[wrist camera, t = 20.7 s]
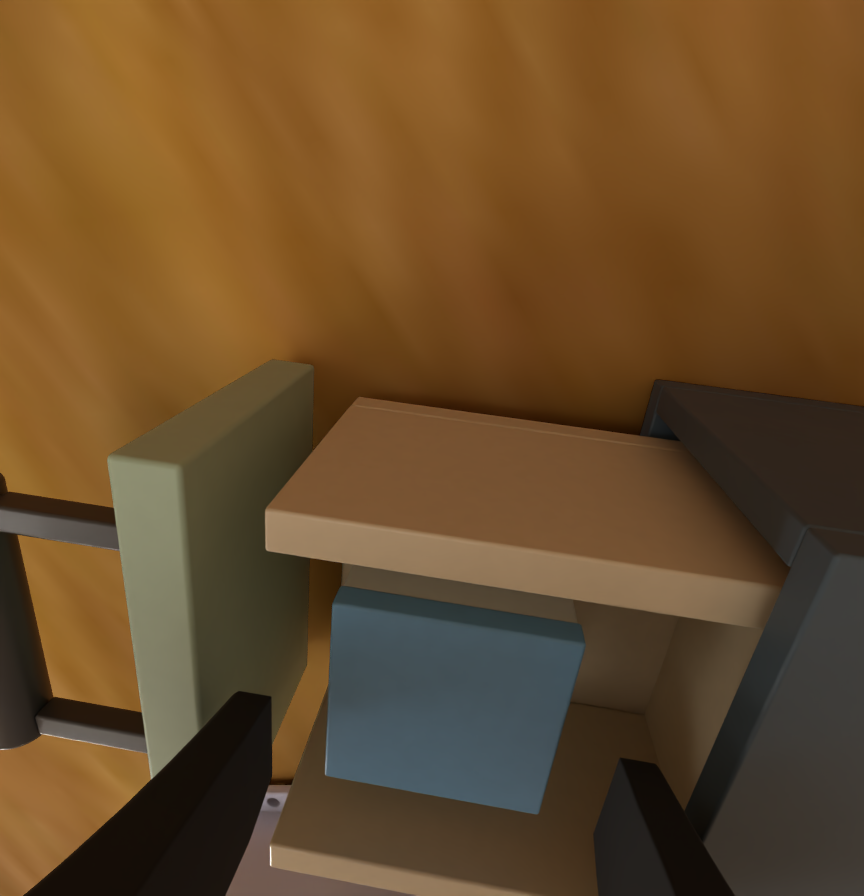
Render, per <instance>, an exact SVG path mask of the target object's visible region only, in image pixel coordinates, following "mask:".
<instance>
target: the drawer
mask: <svg viewBox="0 0 864 896" xmlns="http://www.w3.org/2000/svg"><path fill="white" fill-rule="evenodd" d="M313 397H314V367H313V366H312V365H310V364H302V363H295V362H288V361H280V360H270V361H268V362H266V363H265V364H263V365H261V366H259V367H258V368H256V369H254V370H253V371H251V372H249V373H248V374H246V375H244V376H242V377H241V378H239V379H237V380H236V381H234V382H232V383H230V384H229V385H227V386H225V387H224V388H222V389H220V390H219V391H217V392H215V393H213V394H212V395H210V396H208V397H207V398H205V399H203V400H202V401H200V402H198V403H196V404H195V405H193V406H191V407H190V408H188V409H186V410H184V411H183V412H181V413H179V414H178V415H176V416H174V417H173V418H171V419H169V420H167V421H166V422H164V423H162V424H161V425H159V426H157V427H155V428H154V429H152V430H150V431H149V432H147V433H145V434H144V435H142V436H140V437H138V438H137V439H135V440H133V441H132V442H130V443H128V444H126V445H125V446H123V447H121V448H120V449H118V450H116V451H115V452H113V453H111V454H110V455H109V456H108V460H107V461H108V469H109V476H110V483H111V490H112V498H113V505H114V508H111V507H105V506H98V505H92V504H85V503H79V502H73V501H66V500H60V499H53V498H47V497H41V496H34V495H28V494H21V493H15V492H8V490H7V486H6V481H5V478H4V476H3V475H2V474H1V473H0V750H7V749H13V748H17V747H20V746H23V745H26V744H28V743H30V742H32V741H33V740H35V739H37V738H38V737H39V736H41V735H42V734H45V735H50V736H55V737H61V738H66V739H72V740H77V741H83V742H88V743H93V744H99V745H104V746H110V747H115V748H121V749H126V750H131V751H137V752H142V753H148V760H149V767H150V774H151V779H152V778H153V777H154V776H155V775H156V774H157V773H158V772H159V771H160V770H162V769H163V768H164V767H165V766H166V765H167V764H168V763H169V762H170V761H171V760H172V759H173V758H174V757H175V756H176V754H177V753H178V752H179V751H180V750H181V749H182V748H183V747H184V746H185V745H186V744H187V743H188V742H189V741H190V740H191V739H192V738H193V737H194V736H195V735H196V734H197V733H198V732H199V731H200V730H201V729H202V727H203V726H204V725H205V724H206V723H207V722H208V721H209V720H210V719H211V718H212V717H213V716H214V715H215V714H216V712H217V711H218V710H219V709H220V708H221V707H222V706H223V705H224V704H225V703H226V702H227V700H228V699H229V698H230V697H231V696H232V695H233V694H234V693H236V692H238V691H243V692H249V693H254V694H260V695H266V696H272V744H273V742H274V739H275V737H276V735H277V732H278V730H279V728H280V725H281V723H282V721H283V719H284V716H285V714H286V712H287V709H288V707H289V705H290V702H291V700H292V698H293V696H294V693H295V691H296V689H297V686H298V684H299V682H300V679H301V677H302V675H303V673H304V670H305V668H306V666H307V650H308V608H309V566H310V558H314V559H320V560H327V561H333V562H339V563H342V578H341V586H344V584H345V582H346V579H347V577H348V575H349V572H350V570H351V568H352V565H358V566H365V567H371V568H377V569H384V570H390V571H396V572H403V573H409V574H415V575H422V576H428V577H434V578H441V579H447V580H453V581H460V582H466V583H472V584H478V585H485V586H491V587H497V588H504V589H510V590H516V591H523V592H529V593H535V594H542V595H548V596H554V597H561V598H567V599H573V602H574V607H575V612H576V617H577V622H578V623H579V624H581V625H582V629H583V634H584V638H585V643H586V648H585V651H584V655H583V658H582V662H581V666H580V669H579V673H578V676H577V680H576V683H575V687H574V690H573V694H572V698H571V701H570V705H569V708H568V712H567V715H566V719H565V722H564V726H563V730H562V733H561V737H560V740H559V744H558V747H557V751H556V755H555V758H554V762H553V765H552V769H551V772H550V776H549V779H548V783H547V787H546V790H545V794H544V797H543V801H542V804H541V808H540V811H539V813H538V814H531V813H526V812H520V811H515V810H510V809H504V808H499V807H493V806H488V805H482V804H477V803H471V802H466V801H460V800H455V799H450V798H444V797H439V796H433V795H428V794H422V793H417V792H411V791H406V790H400V789H395V788H389V787H384V786H379V785H373V784H368V783H362V782H357V781H351V780H346V779H340V778H335V777H329V776H326V775H325V754H326V732H327V710H328V688H329V684H328V687H327V690H326V693H325V695H324V698H323V701H322V703H321V706H320V709H319V712H318V714H317V717H316V720H315V722H314V725H313V728H312V731H311V733H310V736H309V739H308V741H307V744H306V747H305V750H304V752H303V755H302V758H301V760H300V763H299V766H298V769H297V771H296V774H295V777H294V779H293V782H292V785H291V788H290V790H289V793H288V796H287V798H286V801H285V804H284V807H283V809H282V812H281V815H280V817H279V820H278V823H277V826H276V828H275V831H274V834H273V836H272V839H271V842H270V866H271V867H274V868H279V869H284V870H289V871H294V872H299V873H304V874H310V875H315V876H320V877H325V878H330V879H335V880H340V881H346V882H351V883H356V884H361V885H366V886H371V887H376V888H381V889H387V890H392V891H397V892H402V893H407V894H412V895H417V896H598V886H597V876H596V863H595V851H594V838H593V833H594V831H595V828H596V825H597V822H598V819H599V816H600V813H601V810H602V807H603V805H604V802H605V799H606V796H607V793H608V790H609V787H610V784H611V781H612V778H613V776H614V773H615V770H616V767H617V764H618V761H619V758H620V757H621V758H626V759H632V760H638V761H643V762H649V763H655V764H656V765H657V766H658V767H659V769H660V770H661V772H662V773H663V775H664V777H665V779H666V780H667V782H668V784H669V786H670V787H671V789H672V791H673V793H674V794H675V796H676V798H677V800H678V801H679V803H680V805H681V806H682V808H683V810H685V808H686V806H687V804H688V801H689V799H690V797H691V794H692V792H693V790H694V788H695V785H696V783H697V781H698V778H699V776H700V774H701V772H702V769H703V767H704V765H705V763H706V760H707V758H708V756H709V753H710V751H711V749H712V747H713V744H714V742H715V740H716V737H717V735H718V733H719V731H720V728H721V726H722V724H723V721H724V719H725V717H726V715H727V712H728V710H729V708H730V705H731V703H732V701H733V699H734V696H735V694H736V692H737V689H738V687H739V685H740V683H741V680H742V678H743V676H744V673H745V671H746V669H747V667H748V664H749V662H750V660H751V657H752V655H753V653H754V651H755V648H756V646H757V644H758V641H759V639H760V637H761V635H762V632H763V630H764V628H765V625H766V623H767V621H768V619H769V616H770V614H771V612H772V609H773V607H774V605H775V603H776V600H777V598H778V596H779V594H780V591H781V589H782V587H783V584H784V582H785V580H786V578H787V575H788V573H789V571H790V568H791V567H789V566H788V565H787V564H786V563H785V562H784V561H783V560H782V559H781V557H780V556H779V555H778V554H777V553H776V552H775V550H774V549H773V548H772V547H771V546H770V545H769V543H768V542H767V541H766V540H765V539H764V538H763V536H762V535H761V534H760V533H759V532H758V531H757V529H756V528H755V527H754V526H753V525H752V524H751V522H750V521H749V520H748V519H747V518H746V517H745V515H744V514H743V513H742V512H741V511H740V510H739V508H738V507H737V506H736V505H735V504H734V503H733V501H732V500H731V499H730V498H729V497H728V496H727V494H726V493H725V492H724V491H723V490H722V489H721V487H720V486H719V485H718V484H717V483H716V482H715V480H714V479H713V478H712V477H711V476H710V475H709V473H708V472H707V471H706V470H705V469H704V468H703V466H702V465H701V464H700V463H699V462H698V461H697V459H696V458H695V457H694V456H693V455H692V454H691V452H690V451H689V450H688V449H687V448H686V447H685V445H684V444H683V443H682V442H681V441H674V440H667V439H660V438H653V437H645V436H638V435H631V434H624V433H616V432H609V431H602V430H595V429H588V428H580V427H573V426H566V425H559V424H552V423H544V422H537V421H530V420H523V419H515V418H508V417H501V416H494V415H487V414H479V413H472V412H465V411H458V410H450V409H443V408H436V407H429V406H422V405H414V404H407V403H400V402H393V401H386V400H378V399H371V398H364V397H358V398H357V399H356V400H355V401H354V402H353V404H352V405H351V406H350V407H349V408H348V409H347V410H346V411H345V413H344V414H343V415H342V416H341V418H340V419H339V420H338V421H337V422H336V424H335V425H334V426H333V427H332V428H331V430H330V431H329V432H328V433H327V435H326V436H325V437H324V438H323V439H322V441H321V442H320V443H319V444H318V445H317V447H316V448H315V449H314V450H313V452H312V439H313ZM17 535H24V536H30V537H36V538H42V539H49V540H55V541H61V542H67V543H73V544H80V545H86V546H92V547H98V548H105V549H111V550H117V551H120V556H121V563H122V570H123V578H124V585H125V592H126V600H127V607H128V614H129V621H130V629H131V636H132V643H133V651H134V658H135V665H136V672H137V680H138V687H139V694H140V701H141V709H142V712H136V711H131V710H125V709H119V708H114V707H108V706H103V705H97V704H92V703H86V702H80V701H75V700H69V699H64V698H58V697H53V694H52V689H51V685H50V680H49V676H48V671H47V667H46V662H45V658H44V653H43V649H42V644H41V639H40V635H39V630H38V626H37V621H36V617H35V612H34V608H33V603H32V599H31V594H30V590H29V585H28V581H27V576H26V572H25V567H24V563H23V558H22V554H21V549H20V545H19V540H18V536H17Z"/></svg>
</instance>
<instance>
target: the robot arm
mask: <svg viewBox="0 0 864 896" xmlns="http://www.w3.org/2000/svg"><path fill="white" fill-rule="evenodd" d="M271 777H272V696H266V695H260V694H254V693H249V692H243V691H238V692H236V693H234V694H233V695H232V696H231V697H230V698H229V699H228V700H227V702H226V703H225V704H224V705H223V706H222V707H221V708H220V709H219V710H218V711H217V712H216V714H215V715H214V716H213V717H212V718H211V719H210V720H209V721H208V722H207V723H206V724H205V725H204V726H203V727H202V729H201V730H200V731H199V732H198V733H197V734H196V735H195V736H194V737H193V738H192V739H191V740H190V741H189V742H188V743H187V744H186V745H185V746H184V747H183V748H182V749H181V750H180V751H179V752H178V753H177V754H176V756H175V757H174V758H173V759H172V760H171V761H170V762H169V763H168V764H167V765H166V766H165V767H164V768H163V769H162V770H160V771H159V772H158V773H157V774H156V775H155V776H154V777H153V778H152V779H151V780H150V781H149V782H148V783H147V784H146V785H145V786H144V787H143V788H142V789H141V790H140V791H139V792H138V793H137V794H136V795H135V796H134V797H133V798H132V799H131V800H130V801H129V802H128V803H127V804H126V805H125V806H124V807H123V808H121V809H120V810H119V811H118V812H117V813H116V814H115V815H114V816H113V817H112V818H111V819H110V820H108V821H107V822H106V823H105V824H104V825H103V826H102V827H101V828H100V829H99V830H97V831H96V832H95V833H94V834H93V835H92V836H91V837H90V838H89V839H88V840H86V841H85V842H84V843H83V844H82V845H81V846H80V847H79V848H78V849H77V850H75V851H74V852H73V853H72V854H71V855H70V856H69V857H68V858H67V859H65V860H64V861H63V862H62V863H61V864H60V865H59V866H57V867H56V868H55V869H54V870H53V871H52V872H51V873H49V874H48V875H47V876H46V877H45V878H44V879H42V880H41V881H40V882H39V883H38V884H37V885H35V886H34V887H33V888H32V889H31V890H29V891H28V892H27V893H26V894H25V895H23V896H417V895H412V894H407V893H402V892H397V891H392V890H387V889H381V888H376V887H371V886H366V885H361V884H356V883H351V882H346V881H340V880H335V879H330V878H325V877H320V876H315V875H310V874H304V873H299V872H294V871H289V870H284V869H279V868H274V867H271V866H270V842H271V839H272V836H273V834H274V831H275V828H276V826H277V823H278V820H279V817H280V815H281V812H282V809H283V807H284V804H285V801H286V798H287V796H288V793H289V790H290V788H291V785H269V783H270V780H271ZM593 838H594V851H595V863H596V876H597V886H598V896H735V894H734V893H733V891H732V890H731V888H730V887H729V885H728V883H727V882H726V880H725V879H724V877H723V875H722V874H721V872H720V870H719V869H718V867H717V866H716V864H715V862H714V861H713V859H712V857H711V856H710V854H709V852H708V851H707V849H706V847H705V846H704V844H703V842H702V841H701V839H700V837H699V835H698V834H697V832H696V830H695V829H694V827H693V825H692V824H691V822H690V820H689V819H688V817H687V815H686V813H685V812H684V810H683V808H682V806H681V805H680V803H679V801H678V800H677V798H676V796H675V794H674V793H673V791H672V789H671V787H670V786H669V784H668V782H667V780H666V779H665V777H664V775H663V773H662V772H661V770H660V769H659V767H658V766H657V765H656V764H655V763H649V762H643V761H638V760H632V759H626V758H621V757H620V758H619V761H618V764H617V767H616V770H615V773H614V776H613V778H612V781H611V784H610V787H609V790H608V793H607V796H606V799H605V802H604V805H603V807H602V810H601V813H600V816H599V819H598V822H597V825H596V828H595V831H594V833H593Z"/></svg>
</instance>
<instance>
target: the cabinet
mask: <svg viewBox="0 0 864 896" xmlns="http://www.w3.org/2000/svg"><path fill="white" fill-rule="evenodd" d="M640 436H645V437H653V438H660V439H667V440H674V441H681V442H682V443H683V444H684V445H685V447H686V448H687V449H688V450H689V451H690V452H691V454H692V455H693V456H694V457H695V458H696V459H697V461H698V462H699V463H700V464H701V465H702V466H703V468H704V469H705V470H706V471H707V472H708V473H709V475H710V476H711V477H712V478H713V479H714V480H715V482H716V483H717V484H718V485H719V486H720V487H721V489H722V490H723V491H724V492H725V493H726V494H727V496H728V497H729V498H730V499H731V500H732V501H733V503H734V504H735V505H736V506H737V507H738V508H739V510H740V511H741V512H742V513H743V514H744V515H745V517H746V518H747V519H748V520H749V521H750V522H751V524H752V525H753V526H754V527H755V528H756V529H757V531H758V532H759V533H760V534H761V535H762V536H763V538H764V539H765V540H766V541H767V542H768V543H769V545H770V546H771V547H772V548H773V549H774V550H775V552H776V553H777V554H778V555H779V556H780V557H781V559H782V560H783V561H784V562H785V563H786V564H787V565H788V566H789V567H791V568H790V571H789V573H788V575H787V578H786V580H785V582H784V584H783V587H782V589H781V591H780V594H779V596H778V598H777V600H776V603H775V605H774V607H773V609H772V612H771V614H770V616H769V619H768V621H767V623H766V625H765V628H764V630H763V632H762V635H761V637H760V639H759V641H758V644H757V646H756V648H755V651H754V653H753V655H752V657H751V660H750V662H749V664H748V667H747V669H746V671H745V673H744V676H743V678H742V680H741V683H740V685H739V687H738V689H737V692H736V694H735V696H734V699H733V701H732V703H731V705H730V708H729V710H728V712H727V715H726V717H725V719H724V721H723V724H722V726H721V728H720V731H719V733H718V735H717V737H716V740H715V742H714V744H713V747H712V749H711V751H710V753H709V756H708V758H707V760H706V763H705V765H704V767H703V769H702V772H701V774H700V776H699V778H698V781H697V783H696V785H695V788H694V790H693V792H692V794H691V797H690V799H689V801H688V804H687V806H686V808H685V810H684V812H685V813H686V815H687V817H688V819H689V820H690V822H691V824H692V825H693V827H694V829H695V830H696V832H697V834H698V835H699V837H700V839H701V841H702V842H703V844H704V846H705V847H706V849H707V851H708V852H709V854H710V856H711V857H712V859H713V861H714V862H715V864H716V866H717V867H718V869H719V870H720V872H721V874H722V875H723V877H724V879H725V880H726V882H727V883H728V885H729V887H730V888H731V890H732V891H733V893H734V894H735V896H864V407H862V406H855V405H847V404H839V403H832V402H824V401H817V400H809V399H802V398H794V397H786V396H779V395H771V394H764V393H756V392H749V391H741V390H733V389H726V388H718V387H711V386H703V385H696V384H688V383H680V382H673V381H665V380H655V382H654V386H653V389H652V393H651V396H650V400H649V404H648V407H647V411H646V415H645V418H644V422H643V425H642V429H641V433H640Z"/></svg>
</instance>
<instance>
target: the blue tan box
mask: <svg viewBox="0 0 864 896" xmlns="http://www.w3.org/2000/svg"><path fill="white" fill-rule="evenodd" d="M585 648H586V643H585V638H584V634H583V629H582V625H581V624H579V623H578V622H577V617H576V612H575V607H574V602H573V599H567V598H561V597H554V596H548V595H542V594H535V593H529V592H523V591H516V590H510V589H504V588H497V587H491V586H485V585H478V584H472V583H466V582H460V581H453V580H447V579H441V578H434V577H428V576H422V575H415V574H409V573H403V572H396V571H390V570H384V569H377V568H371V567H365V566H358V565H352V568H351V570H350V572H349V575H348V577H347V579H346V582H345V584H344V586H341V587H340V588H339V590H338V592H337V595H336V597H335V599H334V601H333V604H332V621H331V644H330V666H329V688H328V710H327V732H326V754H325V775H326V776H329V777H335V778H340V779H346V780H351V781H357V782H362V783H368V784H373V785H379V786H384V787H389V788H395V789H400V790H406V791H411V792H417V793H422V794H428V795H433V796H439V797H444V798H450V799H455V800H460V801H466V802H471V803H477V804H482V805H488V806H493V807H499V808H504V809H510V810H515V811H520V812H526V813H531V814H538V813H539V811H540V808H541V804H542V801H543V797H544V794H545V790H546V787H547V783H548V779H549V776H550V772H551V769H552V765H553V762H554V758H555V755H556V751H557V747H558V744H559V740H560V737H561V733H562V730H563V726H564V722H565V719H566V715H567V712H568V708H569V705H570V701H571V698H572V694H573V690H574V687H575V683H576V680H577V676H578V673H579V669H580V666H581V662H582V658H583V655H584V651H585Z"/></svg>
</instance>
